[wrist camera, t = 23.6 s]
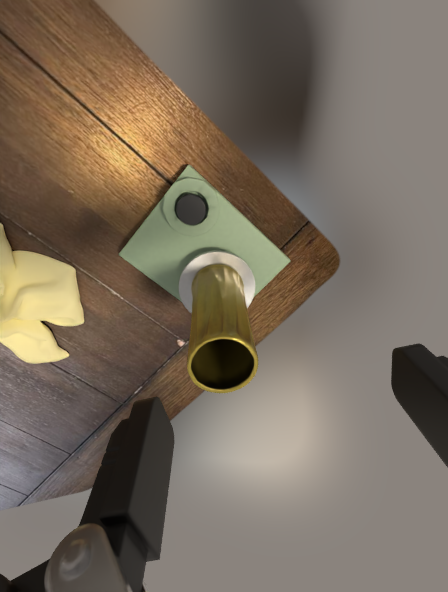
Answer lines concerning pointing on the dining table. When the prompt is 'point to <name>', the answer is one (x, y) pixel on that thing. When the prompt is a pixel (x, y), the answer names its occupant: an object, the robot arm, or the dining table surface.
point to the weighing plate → (212, 259)
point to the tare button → (191, 209)
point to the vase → (220, 332)
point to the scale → (199, 237)
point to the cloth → (35, 302)
